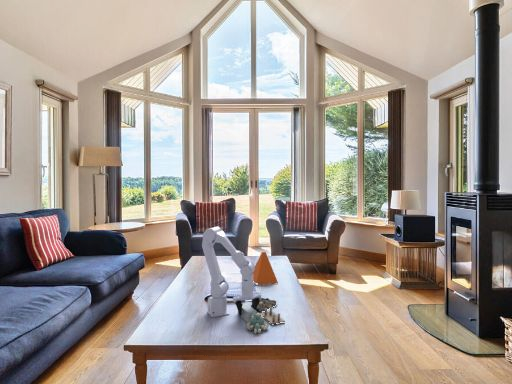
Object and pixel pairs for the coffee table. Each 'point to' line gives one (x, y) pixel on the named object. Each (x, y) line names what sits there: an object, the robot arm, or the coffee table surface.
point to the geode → (265, 304)
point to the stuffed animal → (257, 323)
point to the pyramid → (263, 271)
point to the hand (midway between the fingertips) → (247, 314)
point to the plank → (247, 312)
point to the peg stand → (272, 316)
